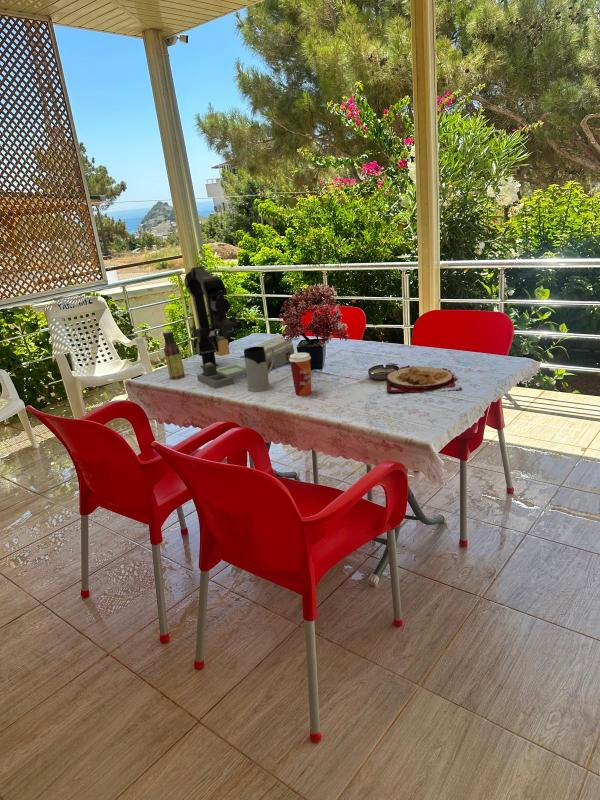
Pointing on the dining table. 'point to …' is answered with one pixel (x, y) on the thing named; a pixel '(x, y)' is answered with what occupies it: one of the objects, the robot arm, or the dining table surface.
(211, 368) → the twin plug
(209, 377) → the power strip
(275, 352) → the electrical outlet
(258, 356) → the grey pitcher
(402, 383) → the plate with food
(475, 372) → the dining table surface
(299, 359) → the paper cup
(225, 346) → the plug
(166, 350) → the sauce bottle
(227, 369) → the tray
